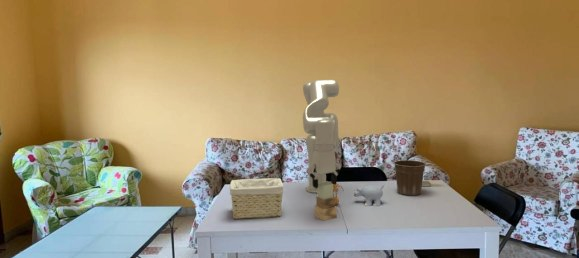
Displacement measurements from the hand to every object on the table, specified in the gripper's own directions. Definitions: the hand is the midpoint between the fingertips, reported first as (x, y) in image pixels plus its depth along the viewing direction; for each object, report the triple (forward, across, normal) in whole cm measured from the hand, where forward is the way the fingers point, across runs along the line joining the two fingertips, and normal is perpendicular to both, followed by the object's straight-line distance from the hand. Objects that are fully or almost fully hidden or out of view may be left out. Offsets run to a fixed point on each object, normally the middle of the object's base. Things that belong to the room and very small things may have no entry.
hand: (324, 185), depth 172 cm
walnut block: (+9, 0, +1) cm, 9 cm away
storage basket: (+15, +24, -20) cm, 35 cm away
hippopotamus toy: (+15, -29, -5) cm, 33 cm away
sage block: (+5, 0, 0) cm, 5 cm away
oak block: (+14, 0, +1) cm, 14 cm away
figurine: (+15, -13, -10) cm, 22 cm away
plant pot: (+15, -58, -6) cm, 60 cm away
